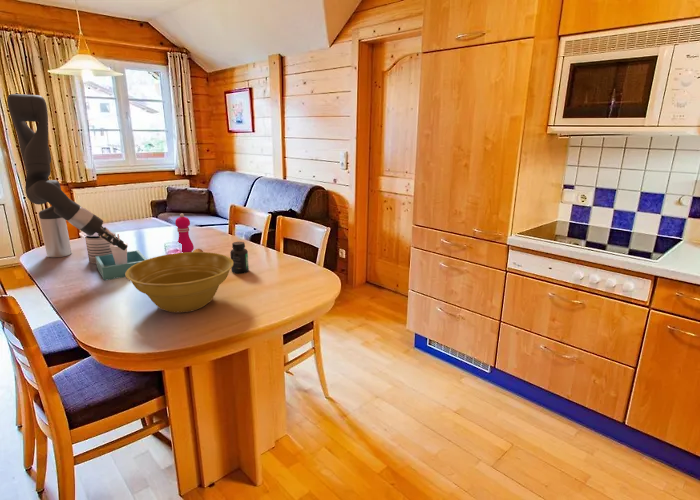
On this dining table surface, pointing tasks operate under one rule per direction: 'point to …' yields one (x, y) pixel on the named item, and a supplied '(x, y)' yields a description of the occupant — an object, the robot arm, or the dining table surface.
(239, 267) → the supplement bottle
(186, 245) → the pepper mill
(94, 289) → the dining table surface
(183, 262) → the planter bowl
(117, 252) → the smoothie
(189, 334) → the dining table surface
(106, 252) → the can
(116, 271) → the tote
